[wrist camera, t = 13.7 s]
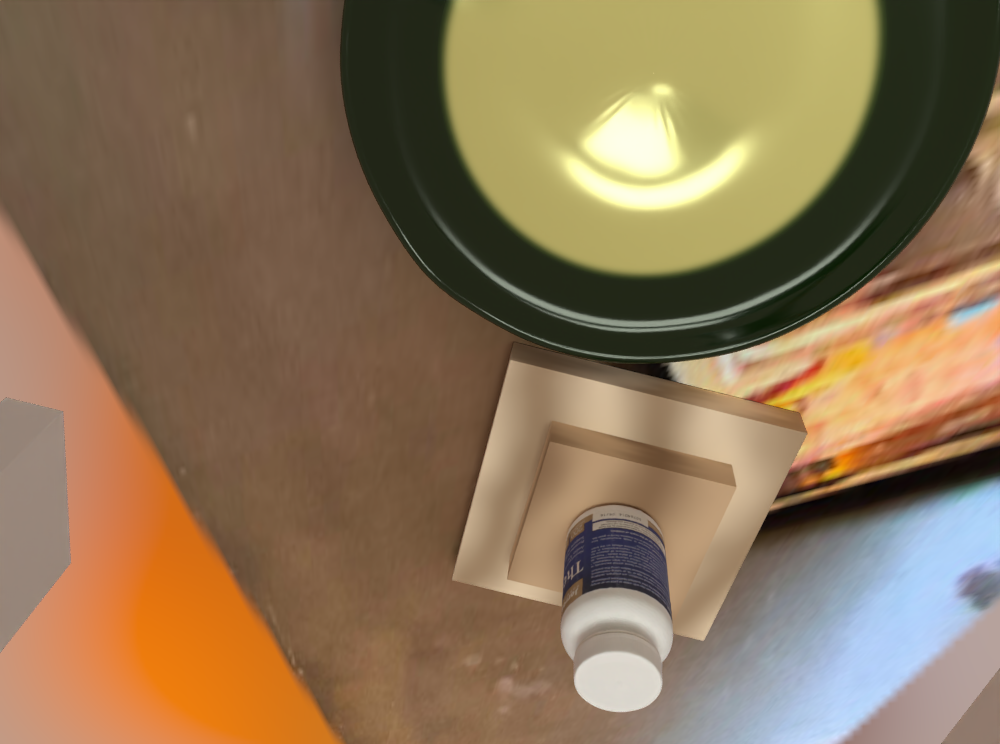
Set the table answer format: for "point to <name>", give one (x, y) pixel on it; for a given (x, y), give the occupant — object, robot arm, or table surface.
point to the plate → (662, 155)
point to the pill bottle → (616, 607)
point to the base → (640, 420)
